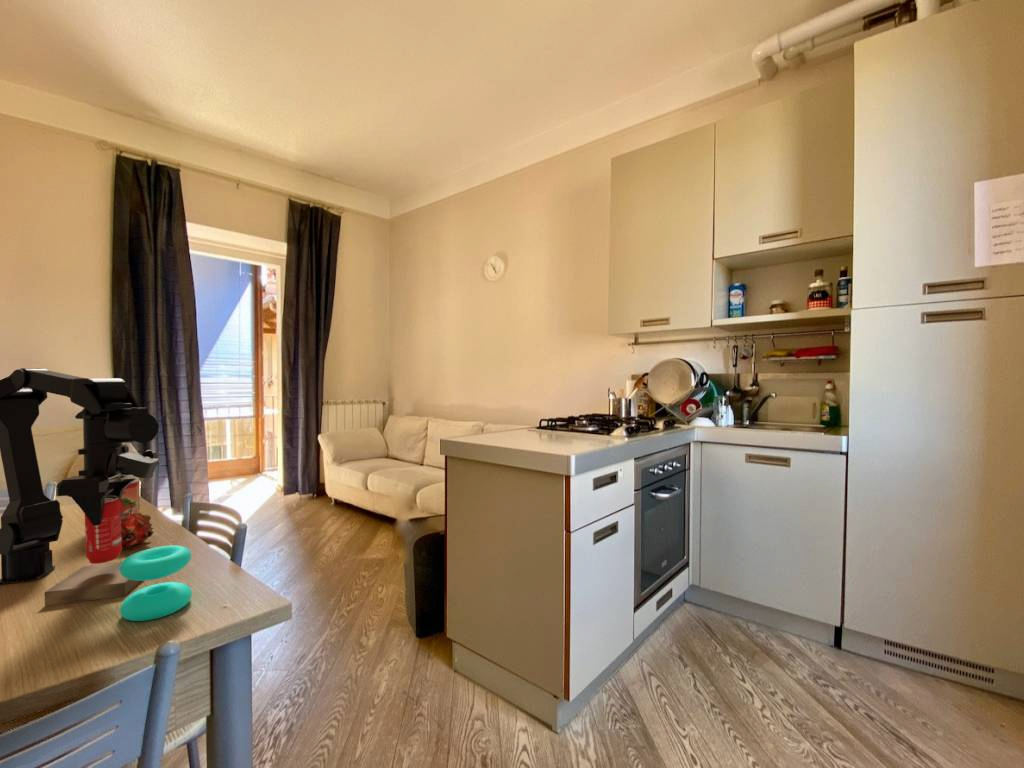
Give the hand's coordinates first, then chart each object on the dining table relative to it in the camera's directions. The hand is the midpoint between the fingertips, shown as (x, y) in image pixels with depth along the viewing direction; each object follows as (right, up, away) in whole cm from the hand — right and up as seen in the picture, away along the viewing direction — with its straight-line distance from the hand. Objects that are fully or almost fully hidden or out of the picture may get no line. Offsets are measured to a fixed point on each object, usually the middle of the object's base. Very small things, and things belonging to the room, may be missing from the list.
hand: (104, 520), depth 91 cm
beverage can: (0, -8, 0) cm, 8 cm away
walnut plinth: (0, -13, 0) cm, 13 cm away
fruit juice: (-30, -13, +38) cm, 51 cm away
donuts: (+18, -13, -9) cm, 24 cm away
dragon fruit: (-14, -13, +23) cm, 29 cm away
